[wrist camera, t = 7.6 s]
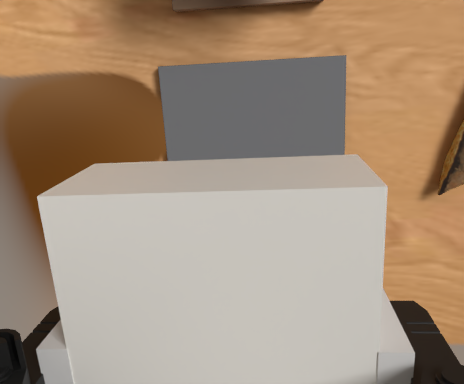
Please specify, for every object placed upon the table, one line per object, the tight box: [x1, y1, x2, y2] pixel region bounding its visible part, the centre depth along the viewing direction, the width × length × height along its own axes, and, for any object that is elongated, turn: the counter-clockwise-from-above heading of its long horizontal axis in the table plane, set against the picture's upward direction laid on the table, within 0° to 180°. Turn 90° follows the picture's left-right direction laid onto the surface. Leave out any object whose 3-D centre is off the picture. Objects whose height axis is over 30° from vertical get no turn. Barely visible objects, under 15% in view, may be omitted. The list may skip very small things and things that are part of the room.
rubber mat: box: [158, 55, 346, 161], centre depth 32 cm, size 16×13×1 cm
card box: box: [37, 154, 388, 384], centre depth 11 cm, size 10×7×3 cm
